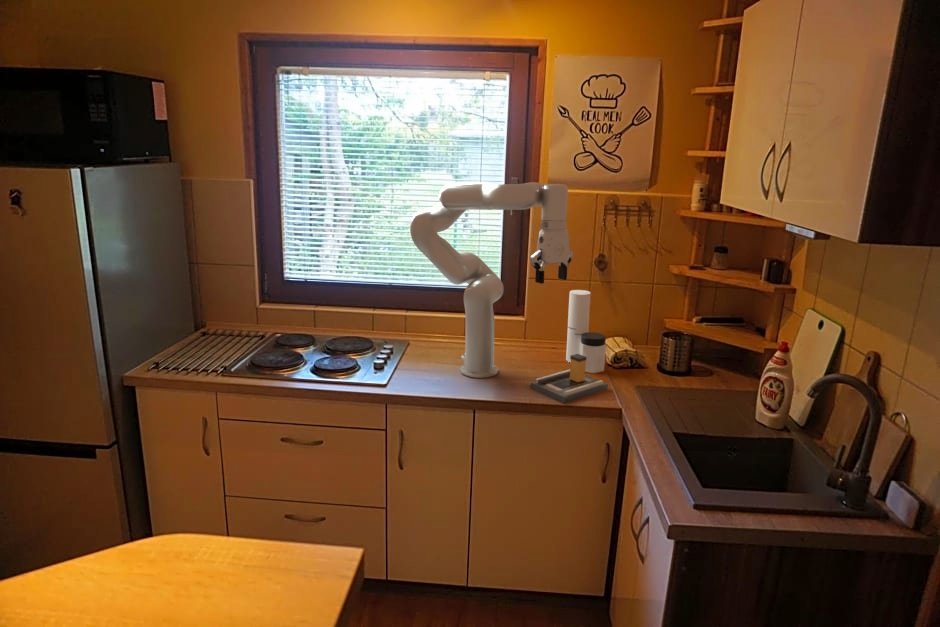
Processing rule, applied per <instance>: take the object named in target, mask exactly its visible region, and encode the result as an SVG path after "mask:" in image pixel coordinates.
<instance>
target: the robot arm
mask: <svg viewBox="0 0 940 627" xmlns="http://www.w3.org/2000/svg"><path fill="white" fill-rule="evenodd" d="M568 191H569V188H568V186H567V185H566V184H563V183H542V182H535V181H533V182H532V181H531V182H525V183H511V184H510V183H508V184H506V183H505V184H499V183H498V184H495V183H491V182H489V181H479V182H478V181H477V182H463V181H456V182H449V183H447V184H444V186H442V188H441V189H440V190H439V193H438V200H439V202H438V204H436V205H435V206H431V207H426V208H424V209H423V208H422V209H420V210H418V211H417V212H415V214H414V215H413V216H412V219H411V221H410V225H409V226H410V228H409V232H410V237H411V239H412V242H413V243H414V245H415V247H416V248H417V249H418V250H419V251H420V252H421V253H422V254H423V255H424V256H425V257H426V258H427V259H428V260H429V261H430V262H431V263H432V265H434V267H435V268H437V270H438V271H439V272H440V273H441V274H442V275H443V276H444V277H445V278H446V279H447V280H448V282H450V283H451V284H453V285H457V286H458V285H463V284H465V283H466V284H467V286H466V287H465V289H464V291H463V292H464V293H463V304H464V312H465V314H464V315H465V339H464V340H465V346H464V347H465V348H464V349H465V353H464V354H463V355H461V356H460V360H461V361H462V362H463V365H461V367H460V373H461V374H462V375H464V376H466V377H468V378H469V377H470V378H475V379H477V378H478V379H484V378H486V379H487V378H491V377H493V376H496V375H497V374H498V373H499V367H497V365H495V364H494V361H495V360H494V359H495V358H494V357H495V354H494V353H495V313H494V307H493V306H494V303H495V302H497V301H498V300H500V298H502V296H503V294H504V283H503V281H502V280H501V279H500V277H499V276H498V275H497V274H496V273H495V272H494V271H493V270H492V269H491V268H490V267H489V265H488V264H486V263H485V262H484V260H482V258H480V257H479V256H478V255H476V254H475V253H472V252H467V251H465V252H461V253H459V252H458V251H457V250H456V249H455V248H454V247H453V246H452V244H450V243H449V241H447V240H446V239H444V238H443V237H441V236H440V235H439V233H441V232H445V231H446V230H448V229H449V228H450V227H452V225H453V224H454V223H455V222H456V221H458V219H459V218H460V217H461V216H462V215H463V214H464V213H465V212H466V211H467V210H470V211H471V210H473V211H474V210H475V211H477V210H479V211H480V210H484V211H486V210H487V211H488V210H489V211H491V210H493V211H494V210H501V211H503V210H505V211H506V210H507V211H510V210H511V211H513V210H516V211H517V210H519V211H520V210H523V211H524V210H529V209H532V208H536V207H541V222H540V223H539V227H540V230H539V233H538V236H537V237H538V238H537V245H536V251H535V252H534V253H532V255H531V256H529V260H530V262H531V266H532V267H533V269H534V270H535V280H534V282H535V283H538V284H542V285H543V284H544V282H545V270H544V268H545V267H546V266H547V265H556V264H557V265H558V264H559V265H558V270H557V272H558V273H557V274H558V275H557V278H558V279H559V280H564V281H566V280H567V278H568V268H569V266H570V263H571V262H572V258H573V256H574V251H572V250H571V249H570V236H569V230H568V229H567V215H568V199H569V198H568V196H569V192H568Z"/></svg>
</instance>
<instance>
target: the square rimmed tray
mask: <svg viewBox="0 0 940 627" xmlns="http://www.w3.org/2000/svg"><path fill="white" fill-rule="evenodd" d="M566 376H570V368H569V369H566V370H562V371H559V372H555V373H552V374H548V375H545V376H541V377H537V378H535V381H536V382H537V383H539V384H542V383H546V382H549V381H552V380H556V379H559V378H563V377H566ZM598 380H599V379H598ZM603 382H604V381H603V380H601V379H600V380H599V381H596V382H593V383H590V384H586V385H583V386H580V387H577V388H574V389H570V390H567V391H564V395H570V394H573V393H576V392H579V391H582V390H586V389H589V388H592V387H595V386H598V385H602V384H603Z"/></svg>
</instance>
